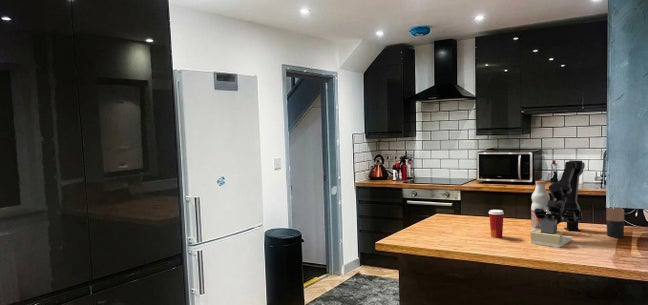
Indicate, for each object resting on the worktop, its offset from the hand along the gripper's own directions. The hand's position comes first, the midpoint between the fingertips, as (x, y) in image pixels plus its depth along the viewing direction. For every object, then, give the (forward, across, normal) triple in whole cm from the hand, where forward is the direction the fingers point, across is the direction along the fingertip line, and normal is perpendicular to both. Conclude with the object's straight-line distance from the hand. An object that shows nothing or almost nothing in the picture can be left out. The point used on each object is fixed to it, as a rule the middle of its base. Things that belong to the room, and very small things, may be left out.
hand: (550, 228), depth 219 cm
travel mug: (-17, +21, +27) cm, 38 cm away
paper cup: (+9, -26, +1) cm, 27 cm away
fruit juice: (-9, -12, +19) cm, 24 cm away
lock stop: (+6, 0, +2) cm, 6 cm away
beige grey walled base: (+4, 0, +5) cm, 7 cm away
